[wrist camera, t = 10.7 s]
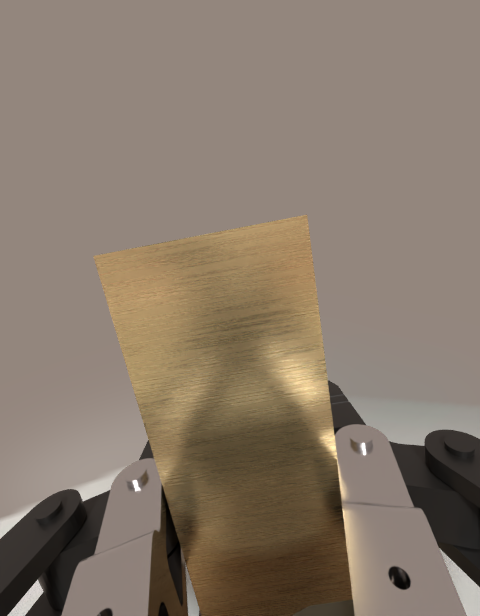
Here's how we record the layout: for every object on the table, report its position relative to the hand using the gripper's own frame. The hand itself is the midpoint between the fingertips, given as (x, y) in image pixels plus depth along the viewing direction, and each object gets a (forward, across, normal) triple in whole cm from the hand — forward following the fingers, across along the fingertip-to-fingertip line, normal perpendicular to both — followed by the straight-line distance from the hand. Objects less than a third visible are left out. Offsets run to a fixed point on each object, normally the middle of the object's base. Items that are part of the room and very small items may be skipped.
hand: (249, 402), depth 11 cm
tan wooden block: (-3, 0, +8) cm, 8 cm away
